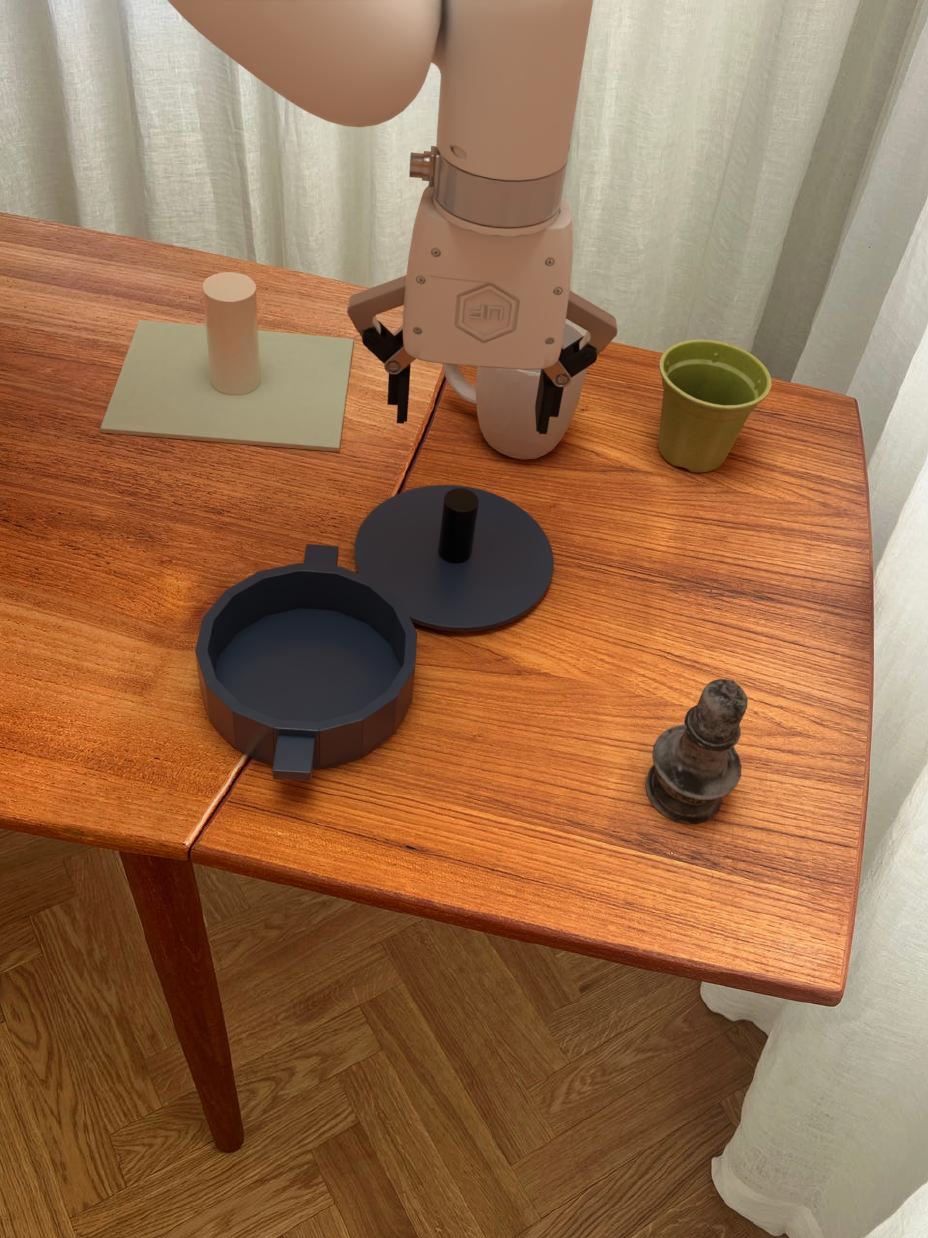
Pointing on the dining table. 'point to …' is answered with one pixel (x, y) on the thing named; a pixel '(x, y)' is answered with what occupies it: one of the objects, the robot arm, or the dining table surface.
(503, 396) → the mug
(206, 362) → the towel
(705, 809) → the dark grey chess piece
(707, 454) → the plant pot
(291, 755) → the pot
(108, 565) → the dining table surface
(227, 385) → the beige tall cylinder
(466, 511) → the pot lid
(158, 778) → the dining table surface
